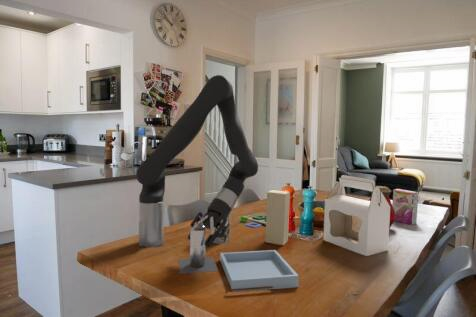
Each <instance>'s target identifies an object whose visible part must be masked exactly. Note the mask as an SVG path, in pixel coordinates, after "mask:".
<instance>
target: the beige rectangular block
mask: <svg viewBox="0 0 476 317" xmlns="http://www.w3.org/2000/svg"><path fill="white" fill-rule="evenodd" d="M290 197H291V192H290V191H287V190H275V189H272V190H268V191H267V192H266V212H265V213H266V225H265V243H268V244H273V245H279V246H284V245H285V244H286V243H287V242H289V224H290V223H289V215H290V200H291V198H290Z"/></svg>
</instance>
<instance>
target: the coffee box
mask: <svg viewBox="0 0 476 317" xmlns="http://www.w3.org/2000/svg"><path fill="white" fill-rule="evenodd" d="M226 220H227V221H228V222H229V226H228V228H227V230H226V231H225V233H224V235H223V237H222V238H219V237H218V238H216V239H215V240H214V242H213V243H212V244H220V245H221V244H224V245H225V244H227V243H228V241H229V239H230V238H231V212H230V213H229V215H228V217H227V218H226ZM221 231H222V230H221ZM220 233H221V232H220Z"/></svg>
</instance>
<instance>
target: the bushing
mask: <svg viewBox="0 0 476 317" xmlns="http://www.w3.org/2000/svg"><path fill="white" fill-rule="evenodd" d="M189 234H190V240H189V259H190V266H191V267H193V268H201V267H204V266H205V258H206V246H205V245H204V243H205V241H206V228H200V226H199V227H197V228H192V227H191V228H190V229H189Z"/></svg>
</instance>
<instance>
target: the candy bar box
mask: <svg viewBox="0 0 476 317" xmlns="http://www.w3.org/2000/svg"><path fill="white" fill-rule="evenodd" d="M418 203H419V192H418V191H412V190H407V189H401V188H395V189H393V190H392V201H391V204H392V206H393V209H394V211H395V214H396V217H397V218H396V220H395V221H394V222H399V223H403V224H407V225H410V226H414V225H417V219H418V205H419V204H418Z"/></svg>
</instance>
